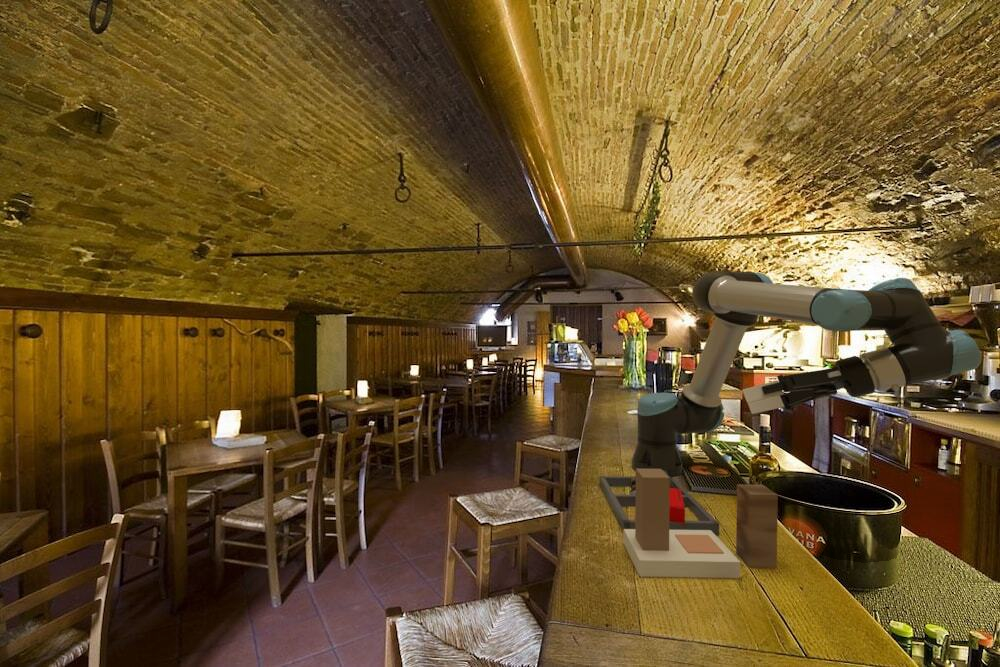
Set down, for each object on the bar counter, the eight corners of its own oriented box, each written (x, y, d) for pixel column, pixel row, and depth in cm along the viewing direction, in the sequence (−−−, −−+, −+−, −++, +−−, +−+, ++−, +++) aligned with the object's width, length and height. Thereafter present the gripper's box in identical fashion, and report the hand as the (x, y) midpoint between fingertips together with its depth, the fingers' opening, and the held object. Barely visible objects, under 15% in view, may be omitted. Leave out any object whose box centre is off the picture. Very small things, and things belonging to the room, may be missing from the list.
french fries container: (640, 532, 98) (639, 502, 111) (684, 538, 95) (677, 507, 108) (640, 502, 97) (639, 476, 110) (685, 508, 94) (678, 480, 108)
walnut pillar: (736, 553, 87) (737, 484, 87) (761, 554, 87) (762, 484, 87) (749, 567, 82) (750, 494, 82) (776, 568, 82) (777, 494, 82)
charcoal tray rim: (599, 484, 124) (599, 475, 124) (672, 485, 123) (672, 476, 123) (624, 533, 96) (624, 522, 95) (719, 534, 95) (719, 523, 95)
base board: (623, 543, 91) (623, 462, 91) (710, 544, 91) (711, 463, 90) (639, 576, 79) (640, 484, 79) (740, 578, 79) (741, 485, 78)
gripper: (888, 376, 72) (749, 409, 81) (867, 404, 92) (757, 428, 101) (866, 336, 75) (734, 372, 85) (850, 371, 95) (745, 397, 104)
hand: (747, 402), depth 93 cm, fingers open, 13 cm apart
